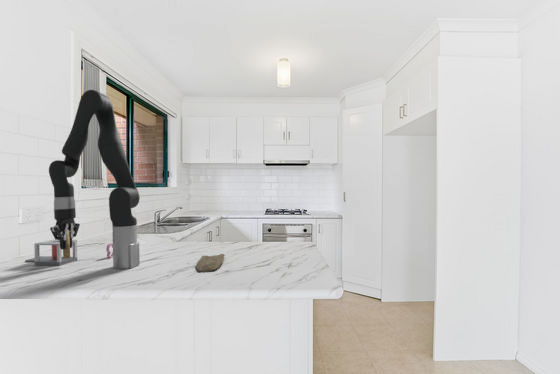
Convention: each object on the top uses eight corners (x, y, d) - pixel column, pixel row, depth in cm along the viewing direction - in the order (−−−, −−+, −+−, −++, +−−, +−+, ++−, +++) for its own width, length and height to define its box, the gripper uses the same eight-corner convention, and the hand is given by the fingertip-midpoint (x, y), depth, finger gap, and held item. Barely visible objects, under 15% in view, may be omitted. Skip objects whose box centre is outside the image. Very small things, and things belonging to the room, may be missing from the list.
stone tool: (201, 258, 148) (192, 273, 123) (201, 252, 148) (192, 266, 123) (225, 258, 149) (221, 272, 124) (225, 251, 149) (221, 265, 124)
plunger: (62, 258, 144) (62, 243, 144) (56, 259, 141) (56, 245, 141) (56, 258, 145) (56, 243, 145) (50, 259, 142) (50, 244, 142)
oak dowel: (71, 257, 137) (70, 229, 137) (67, 258, 134) (65, 230, 134) (66, 257, 137) (65, 229, 137) (61, 258, 135) (60, 230, 134)
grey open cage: (77, 260, 147) (76, 239, 147) (59, 265, 137) (59, 243, 137) (54, 259, 149) (53, 239, 149) (34, 265, 139) (34, 243, 139)
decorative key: (131, 256, 168) (107, 258, 149) (129, 256, 168) (105, 258, 149) (132, 243, 169) (109, 243, 150) (130, 243, 169) (106, 243, 150)
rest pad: (55, 258, 152) (55, 256, 152) (40, 262, 144) (40, 260, 144) (40, 257, 153) (40, 256, 153) (25, 261, 145) (25, 260, 145)
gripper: (59, 208, 128) (61, 251, 128) (84, 206, 142) (86, 245, 142) (42, 209, 129) (44, 252, 129) (69, 206, 143) (71, 245, 143)
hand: (66, 248), depth 136 cm, fingers closed on oak dowel, 2 cm apart
